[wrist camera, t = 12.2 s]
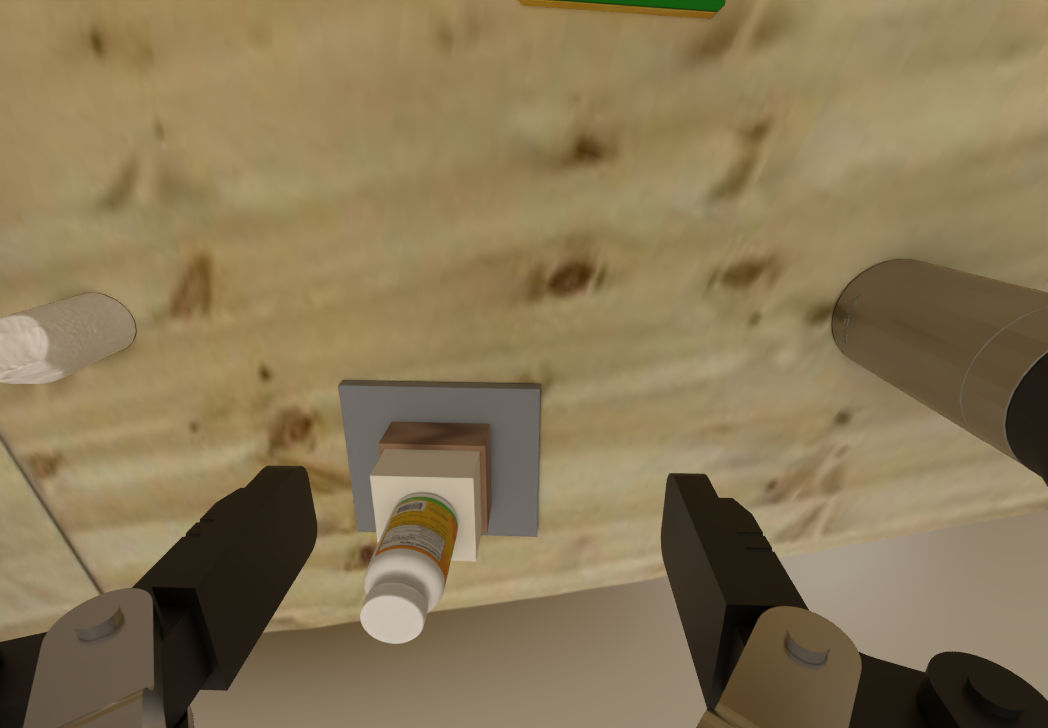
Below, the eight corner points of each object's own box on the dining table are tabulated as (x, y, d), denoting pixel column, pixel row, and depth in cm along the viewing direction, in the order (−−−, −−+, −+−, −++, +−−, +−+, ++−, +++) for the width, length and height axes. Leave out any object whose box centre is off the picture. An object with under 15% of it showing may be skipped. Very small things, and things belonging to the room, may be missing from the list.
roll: (-2, 345, 33) (11, 420, 35) (135, 300, 44) (139, 359, 46) (-97, 326, 33) (-79, 402, 35) (65, 286, 44) (72, 345, 46)
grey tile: (540, 384, 46) (539, 389, 45) (537, 528, 52) (537, 536, 50) (343, 380, 46) (338, 385, 45) (361, 523, 52) (358, 531, 51)
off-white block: (479, 451, 43) (473, 478, 39) (481, 529, 45) (476, 561, 42) (384, 448, 43) (369, 475, 39) (393, 526, 46) (379, 558, 42)
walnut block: (489, 423, 46) (485, 446, 42) (491, 506, 49) (487, 533, 46) (391, 421, 46) (378, 443, 43) (399, 503, 50) (387, 531, 46)
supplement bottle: (437, 557, 42) (407, 665, 33) (379, 525, 41) (333, 627, 32) (472, 513, 40) (451, 614, 31) (413, 479, 39) (374, 572, 30)
